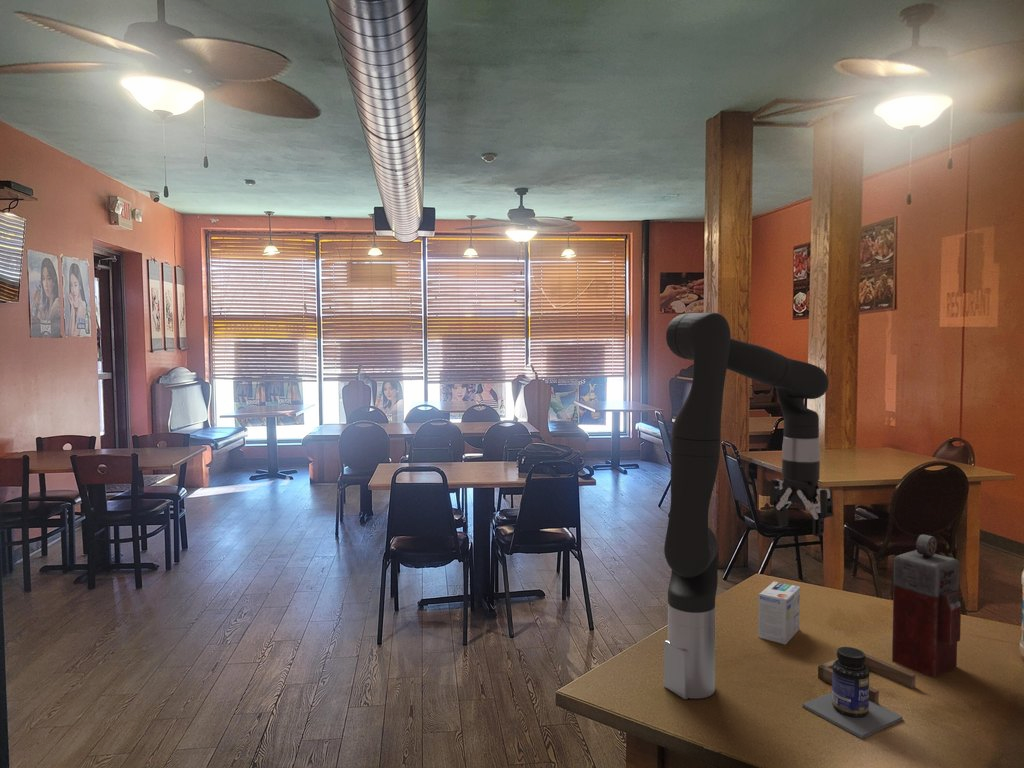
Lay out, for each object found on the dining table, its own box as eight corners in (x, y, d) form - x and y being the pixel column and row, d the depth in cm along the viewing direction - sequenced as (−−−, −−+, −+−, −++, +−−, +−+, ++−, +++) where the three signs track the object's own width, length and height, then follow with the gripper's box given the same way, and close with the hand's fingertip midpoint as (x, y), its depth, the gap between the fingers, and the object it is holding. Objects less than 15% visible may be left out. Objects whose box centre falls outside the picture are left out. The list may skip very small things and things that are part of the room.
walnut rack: (874, 705, 127) (874, 692, 127) (817, 677, 137) (818, 665, 137) (915, 686, 133) (915, 674, 133) (858, 662, 144) (858, 650, 144)
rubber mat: (861, 739, 116) (861, 735, 116) (802, 706, 126) (802, 703, 126) (902, 719, 122) (902, 716, 122) (842, 690, 132) (842, 687, 132)
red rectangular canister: (946, 682, 135) (950, 547, 133) (891, 660, 144) (893, 533, 143) (969, 671, 139) (972, 539, 138) (913, 650, 149) (916, 527, 147)
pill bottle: (865, 722, 120) (866, 662, 119) (828, 711, 124) (829, 653, 123) (871, 707, 125) (872, 650, 124) (835, 697, 128) (836, 641, 128)
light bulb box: (772, 622, 165) (772, 580, 164) (800, 629, 161) (801, 586, 160) (757, 637, 157) (757, 592, 156) (786, 645, 152) (787, 599, 152)
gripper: (841, 460, 140) (840, 536, 141) (784, 451, 152) (784, 521, 153) (818, 464, 136) (817, 541, 137) (762, 454, 149) (761, 526, 150)
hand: (799, 531), depth 145 cm, fingers open, 8 cm apart
